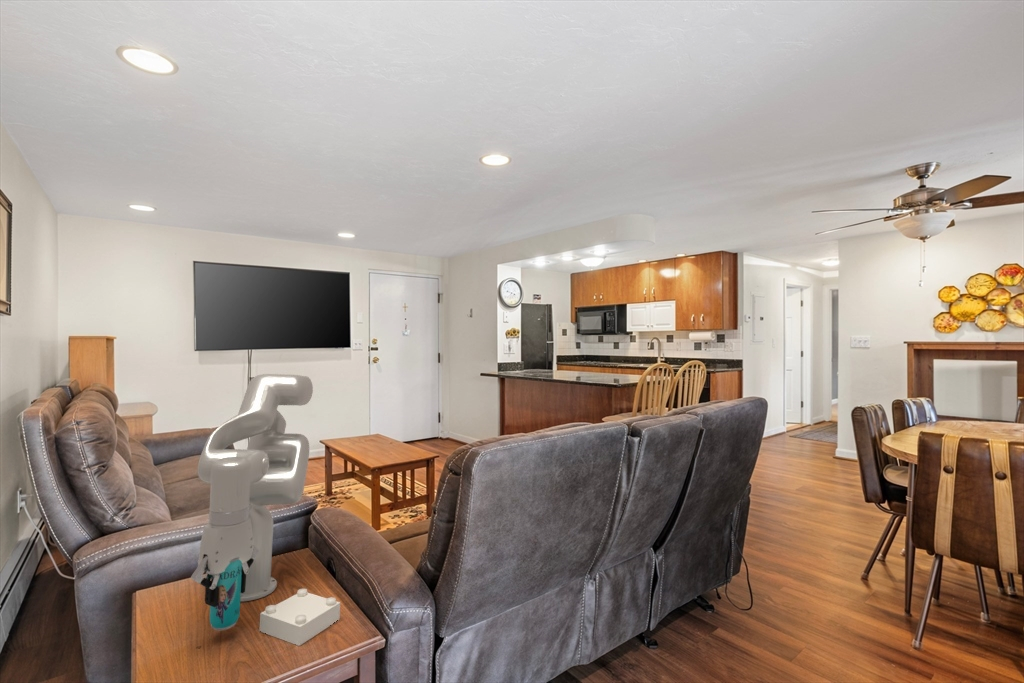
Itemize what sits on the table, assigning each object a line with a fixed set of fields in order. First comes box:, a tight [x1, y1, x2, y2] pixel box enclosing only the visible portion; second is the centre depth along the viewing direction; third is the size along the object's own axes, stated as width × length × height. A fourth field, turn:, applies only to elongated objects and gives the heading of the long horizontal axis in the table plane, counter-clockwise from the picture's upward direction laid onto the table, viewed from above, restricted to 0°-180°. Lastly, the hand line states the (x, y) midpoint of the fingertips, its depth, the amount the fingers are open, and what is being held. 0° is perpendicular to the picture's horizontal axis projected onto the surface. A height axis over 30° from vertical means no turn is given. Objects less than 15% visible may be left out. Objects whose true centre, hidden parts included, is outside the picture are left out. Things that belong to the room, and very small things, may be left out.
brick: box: [258, 588, 341, 647], centre depth 116 cm, size 12×12×5 cm
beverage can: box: [209, 557, 242, 632], centre depth 110 cm, size 6×6×15 cm
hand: (225, 597), depth 110 cm, fingers closed on beverage can, 5 cm apart
